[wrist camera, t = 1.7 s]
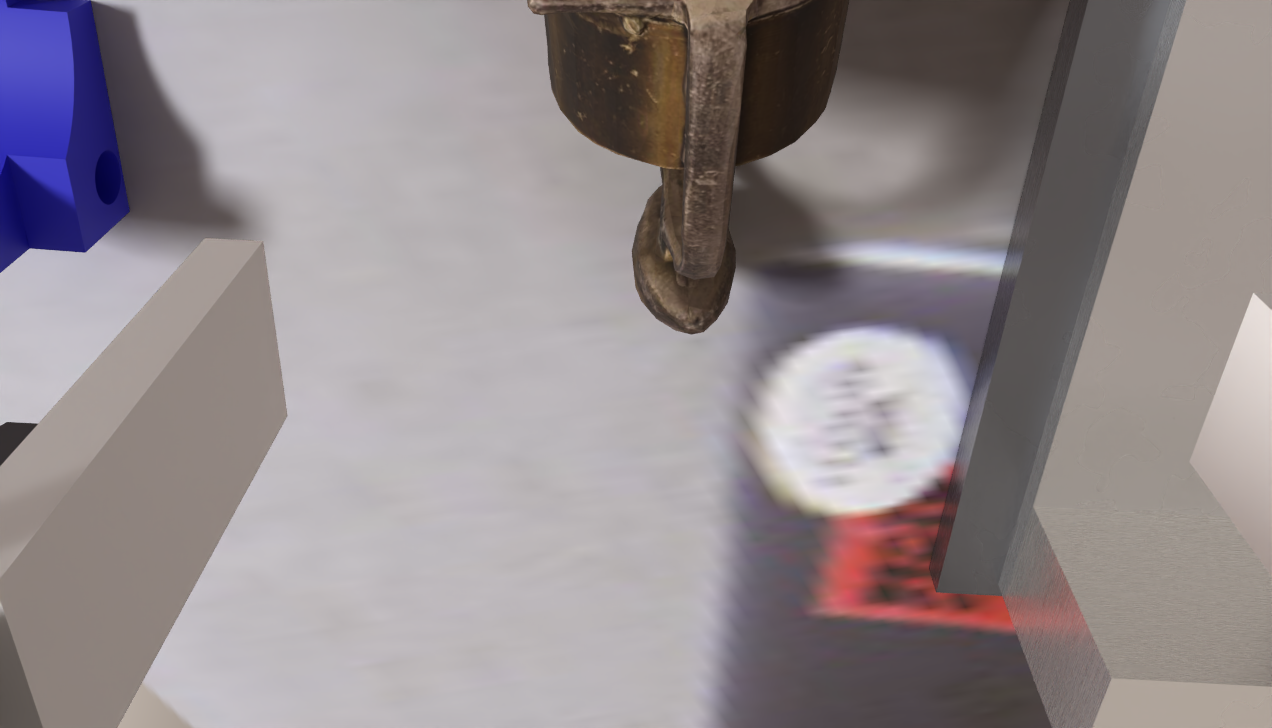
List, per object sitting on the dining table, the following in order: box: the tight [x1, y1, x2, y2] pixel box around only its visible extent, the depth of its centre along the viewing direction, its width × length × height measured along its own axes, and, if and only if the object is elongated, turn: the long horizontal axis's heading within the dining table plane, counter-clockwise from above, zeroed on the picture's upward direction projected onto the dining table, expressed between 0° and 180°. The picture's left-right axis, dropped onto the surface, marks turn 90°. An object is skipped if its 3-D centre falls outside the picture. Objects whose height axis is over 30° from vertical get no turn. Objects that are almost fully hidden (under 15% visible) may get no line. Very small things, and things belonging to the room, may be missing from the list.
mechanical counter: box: [527, 0, 849, 334], centre depth 24 cm, size 7×13×10 cm, turn 16°
